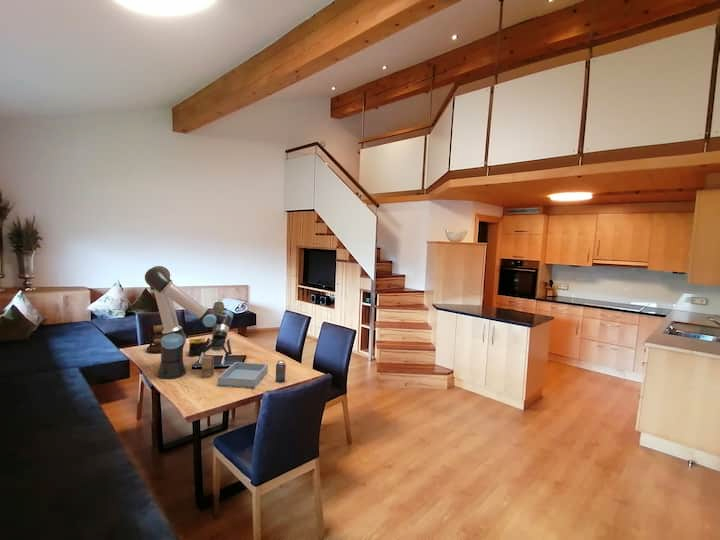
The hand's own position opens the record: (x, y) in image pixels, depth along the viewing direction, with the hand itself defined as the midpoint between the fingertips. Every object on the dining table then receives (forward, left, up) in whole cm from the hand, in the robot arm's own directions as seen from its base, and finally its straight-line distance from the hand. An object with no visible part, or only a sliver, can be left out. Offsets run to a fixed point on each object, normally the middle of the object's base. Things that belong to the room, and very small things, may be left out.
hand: (211, 363), depth 221 cm
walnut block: (-2, 0, -7) cm, 7 cm away
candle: (+3, +45, -7) cm, 46 cm away
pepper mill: (+32, -28, -7) cm, 43 cm away
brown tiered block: (-18, +65, -7) cm, 68 cm away
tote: (+15, -14, -7) cm, 22 cm away
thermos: (+19, +51, -7) cm, 55 cm away
